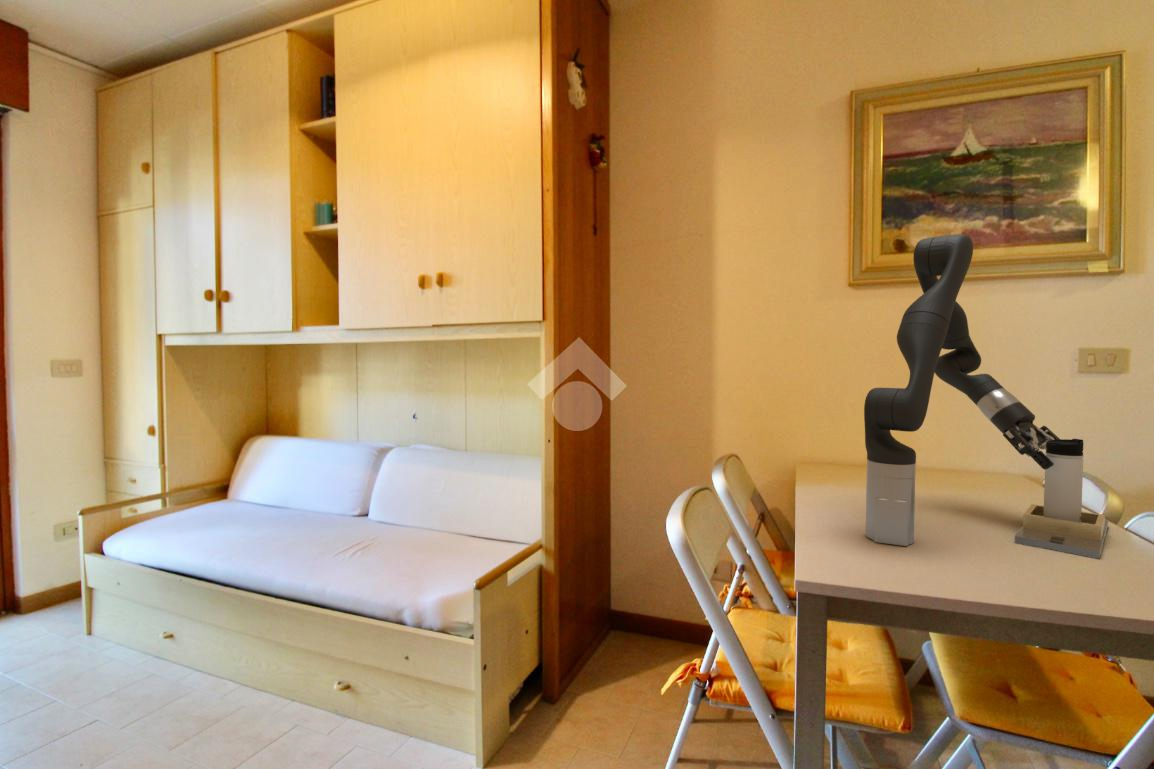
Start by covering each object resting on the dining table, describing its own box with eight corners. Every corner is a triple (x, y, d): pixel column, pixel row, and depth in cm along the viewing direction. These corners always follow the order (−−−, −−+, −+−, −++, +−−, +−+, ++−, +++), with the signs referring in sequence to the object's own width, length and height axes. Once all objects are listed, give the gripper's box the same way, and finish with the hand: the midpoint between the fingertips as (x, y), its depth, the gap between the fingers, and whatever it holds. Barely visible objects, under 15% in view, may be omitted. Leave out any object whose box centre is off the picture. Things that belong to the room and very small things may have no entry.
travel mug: (1090, 531, 116) (1093, 441, 115) (1059, 531, 116) (1062, 441, 115) (1064, 523, 122) (1067, 437, 121) (1035, 523, 122) (1038, 437, 121)
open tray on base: (1099, 559, 104) (1100, 536, 103) (1014, 542, 113) (1015, 522, 113) (1107, 526, 124) (1108, 507, 124) (1035, 515, 134) (1035, 497, 133)
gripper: (999, 401, 124) (1057, 458, 113) (1035, 400, 129) (1093, 454, 119) (974, 422, 129) (1027, 477, 119) (1010, 419, 134) (1063, 473, 124)
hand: (1060, 466), depth 119 cm, fingers open, 8 cm apart
